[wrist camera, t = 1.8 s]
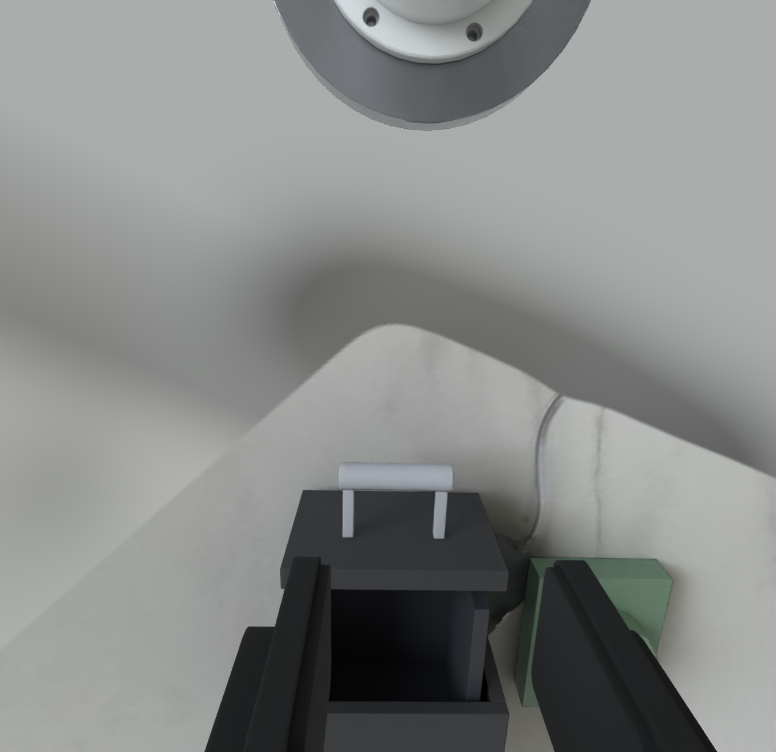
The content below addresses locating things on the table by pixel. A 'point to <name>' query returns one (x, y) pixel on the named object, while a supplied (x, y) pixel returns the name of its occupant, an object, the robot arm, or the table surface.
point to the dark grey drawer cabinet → (422, 722)
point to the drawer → (402, 581)
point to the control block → (624, 588)
